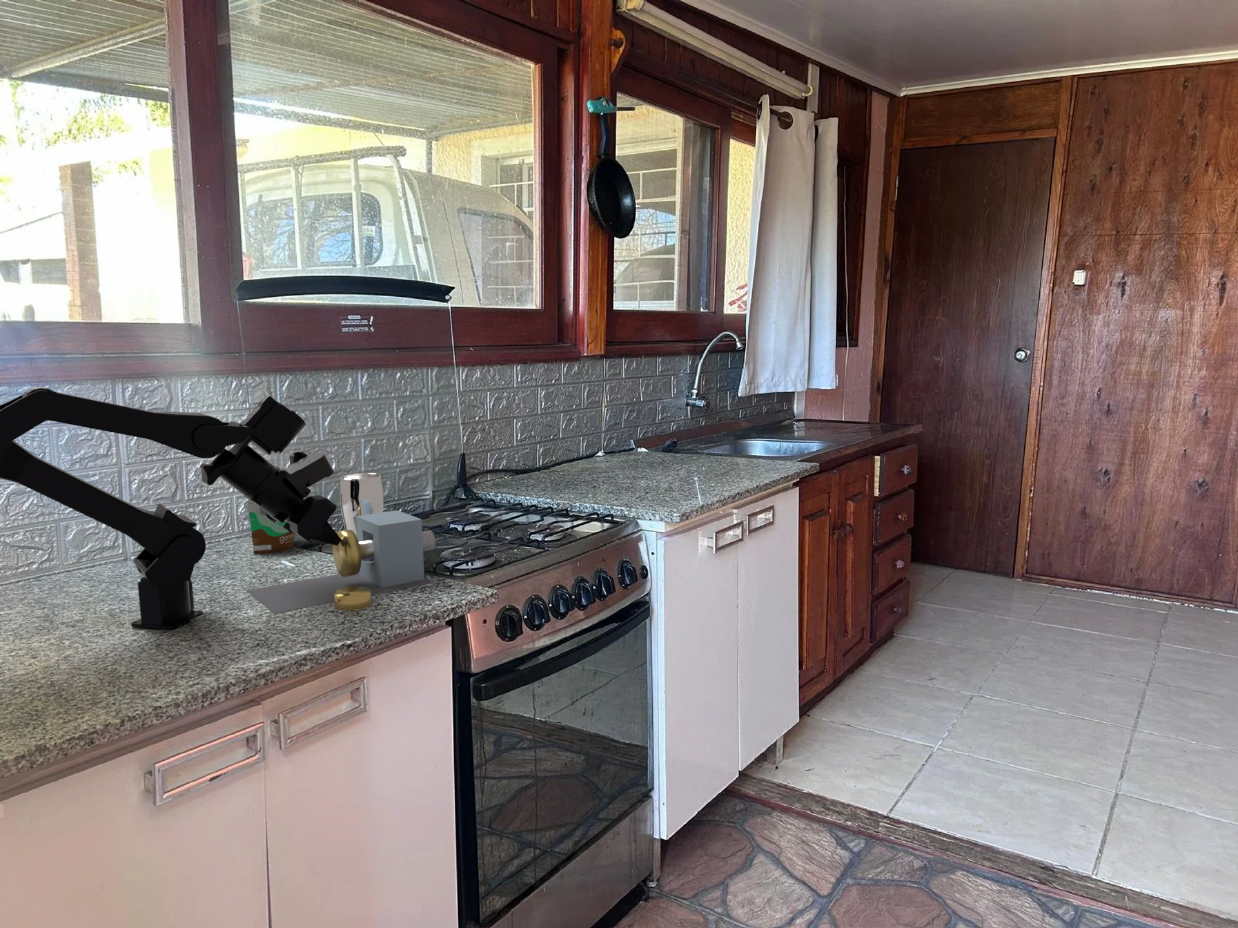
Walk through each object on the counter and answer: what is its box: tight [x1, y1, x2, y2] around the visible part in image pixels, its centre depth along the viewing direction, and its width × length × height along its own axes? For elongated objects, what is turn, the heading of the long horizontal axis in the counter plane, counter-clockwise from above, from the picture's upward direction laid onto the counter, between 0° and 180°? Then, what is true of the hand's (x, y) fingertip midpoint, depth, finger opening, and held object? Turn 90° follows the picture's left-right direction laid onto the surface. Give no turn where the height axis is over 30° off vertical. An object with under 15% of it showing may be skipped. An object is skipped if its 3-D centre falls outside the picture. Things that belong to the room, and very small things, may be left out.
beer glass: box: [339, 472, 384, 536], centre depth 147 cm, size 7×7×15 cm
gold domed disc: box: [334, 587, 373, 612], centre depth 123 cm, size 5×5×2 cm
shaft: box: [332, 530, 436, 577], centre depth 136 cm, size 15×7×7 cm, turn 128°
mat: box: [246, 573, 434, 615], centre depth 133 cm, size 24×14×1 cm, turn 128°
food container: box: [246, 499, 295, 556], centre depth 158 cm, size 12×6×10 cm, turn 179°
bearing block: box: [356, 510, 425, 587], centre depth 137 cm, size 7×9×10 cm
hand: (338, 542), depth 131 cm, fingers closed, pressing on shaft
